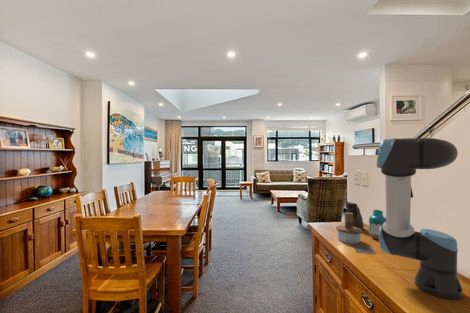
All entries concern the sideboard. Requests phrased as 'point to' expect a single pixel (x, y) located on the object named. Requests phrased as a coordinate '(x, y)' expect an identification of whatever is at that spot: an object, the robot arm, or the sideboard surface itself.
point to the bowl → (348, 237)
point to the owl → (355, 214)
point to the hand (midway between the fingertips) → (401, 207)
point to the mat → (363, 249)
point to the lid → (348, 225)
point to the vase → (376, 223)
